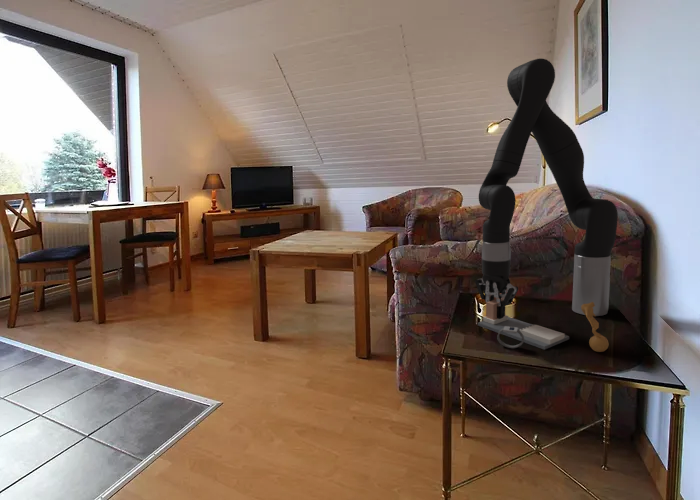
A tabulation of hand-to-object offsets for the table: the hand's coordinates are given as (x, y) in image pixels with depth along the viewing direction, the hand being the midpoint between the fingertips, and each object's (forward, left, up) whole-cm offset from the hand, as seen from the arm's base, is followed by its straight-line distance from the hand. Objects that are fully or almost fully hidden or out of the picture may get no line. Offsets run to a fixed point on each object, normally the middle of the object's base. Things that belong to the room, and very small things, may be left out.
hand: (495, 316), depth 123 cm
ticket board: (0, +8, -2) cm, 9 cm away
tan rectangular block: (0, 0, -2) cm, 2 cm away
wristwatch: (+10, +13, -2) cm, 16 cm away
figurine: (-3, +26, -2) cm, 26 cm away
